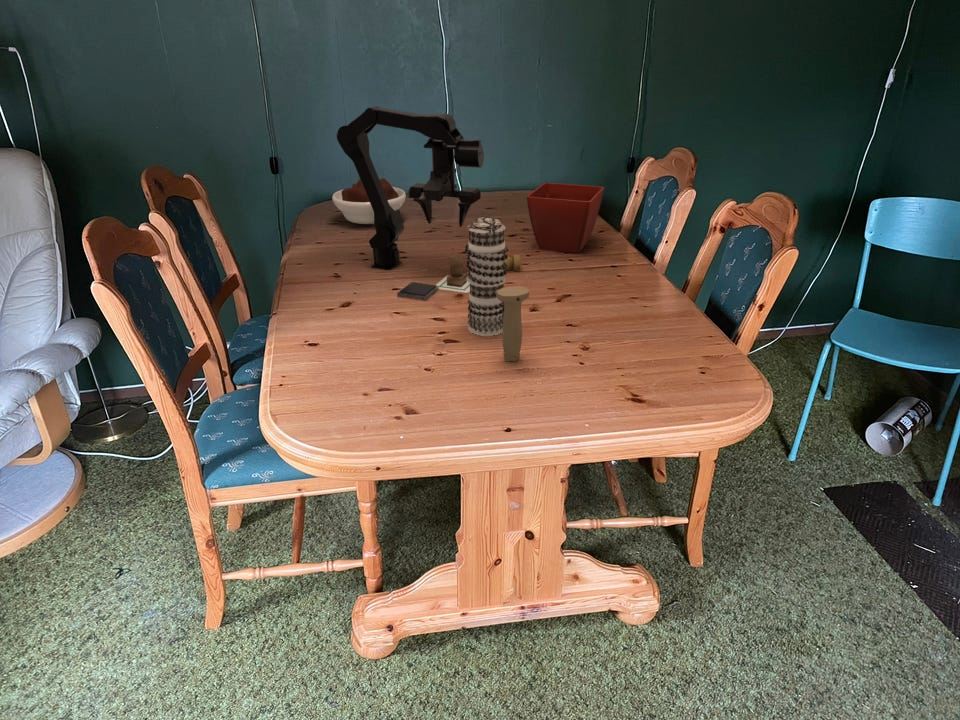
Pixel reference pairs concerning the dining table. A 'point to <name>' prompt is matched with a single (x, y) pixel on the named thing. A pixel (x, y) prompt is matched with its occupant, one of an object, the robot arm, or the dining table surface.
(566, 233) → the plant pot
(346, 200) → the bowl of chocolate pudding
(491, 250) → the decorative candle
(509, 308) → the handle
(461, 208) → the robot arm
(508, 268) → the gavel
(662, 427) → the dining table surface
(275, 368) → the dining table surface
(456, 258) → the stamp
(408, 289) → the ink pad
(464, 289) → the print card
